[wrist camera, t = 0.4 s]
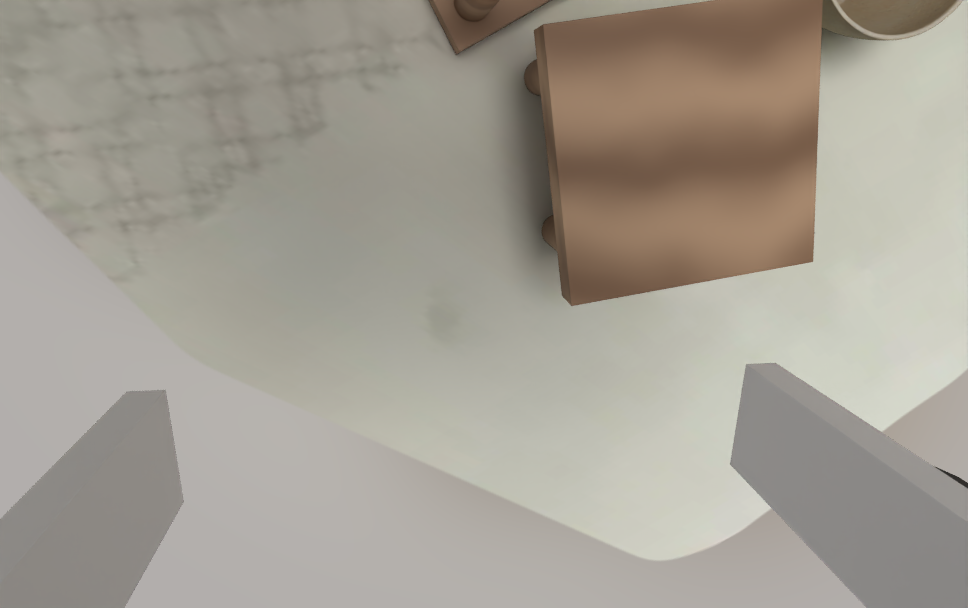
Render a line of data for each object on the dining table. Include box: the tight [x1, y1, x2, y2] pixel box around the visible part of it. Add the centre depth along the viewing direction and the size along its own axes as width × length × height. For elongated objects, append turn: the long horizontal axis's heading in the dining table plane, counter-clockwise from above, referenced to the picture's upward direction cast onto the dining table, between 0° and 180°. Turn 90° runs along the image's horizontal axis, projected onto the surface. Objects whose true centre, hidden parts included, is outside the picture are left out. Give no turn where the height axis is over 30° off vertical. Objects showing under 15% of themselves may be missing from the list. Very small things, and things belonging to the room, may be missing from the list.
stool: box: [524, 0, 823, 306], centre depth 35 cm, size 14×14×10 cm
